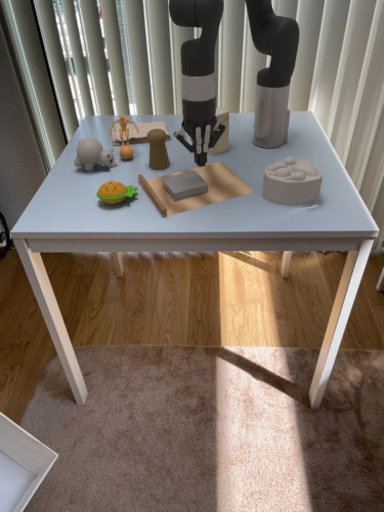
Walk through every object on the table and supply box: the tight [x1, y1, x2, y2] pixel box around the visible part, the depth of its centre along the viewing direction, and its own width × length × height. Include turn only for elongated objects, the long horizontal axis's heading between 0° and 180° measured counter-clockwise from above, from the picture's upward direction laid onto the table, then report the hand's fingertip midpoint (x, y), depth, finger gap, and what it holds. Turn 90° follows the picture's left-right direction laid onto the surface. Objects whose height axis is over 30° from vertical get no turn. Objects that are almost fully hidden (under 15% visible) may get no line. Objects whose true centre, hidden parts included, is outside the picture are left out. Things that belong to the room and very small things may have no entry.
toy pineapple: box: [96, 180, 139, 205], centre depth 101 cm, size 7×10×5 cm
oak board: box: [137, 160, 255, 218], centre depth 104 cm, size 24×18×3 cm
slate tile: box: [162, 170, 208, 201], centre depth 103 cm, size 2×8×9 cm
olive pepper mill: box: [147, 129, 171, 171], centre depth 111 cm, size 6×6×11 cm
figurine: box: [109, 115, 139, 160], centre depth 117 cm, size 8×6×12 cm
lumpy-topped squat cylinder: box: [262, 156, 324, 208], centre depth 98 cm, size 10×13×9 cm
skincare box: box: [207, 107, 230, 156], centre depth 116 cm, size 6×4×12 cm
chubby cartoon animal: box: [73, 137, 120, 172], centre depth 114 cm, size 7×12×8 cm, turn 79°
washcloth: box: [111, 121, 172, 147], centre depth 131 cm, size 12×18×3 cm, turn 101°
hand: (200, 165), depth 101 cm, fingers closed
